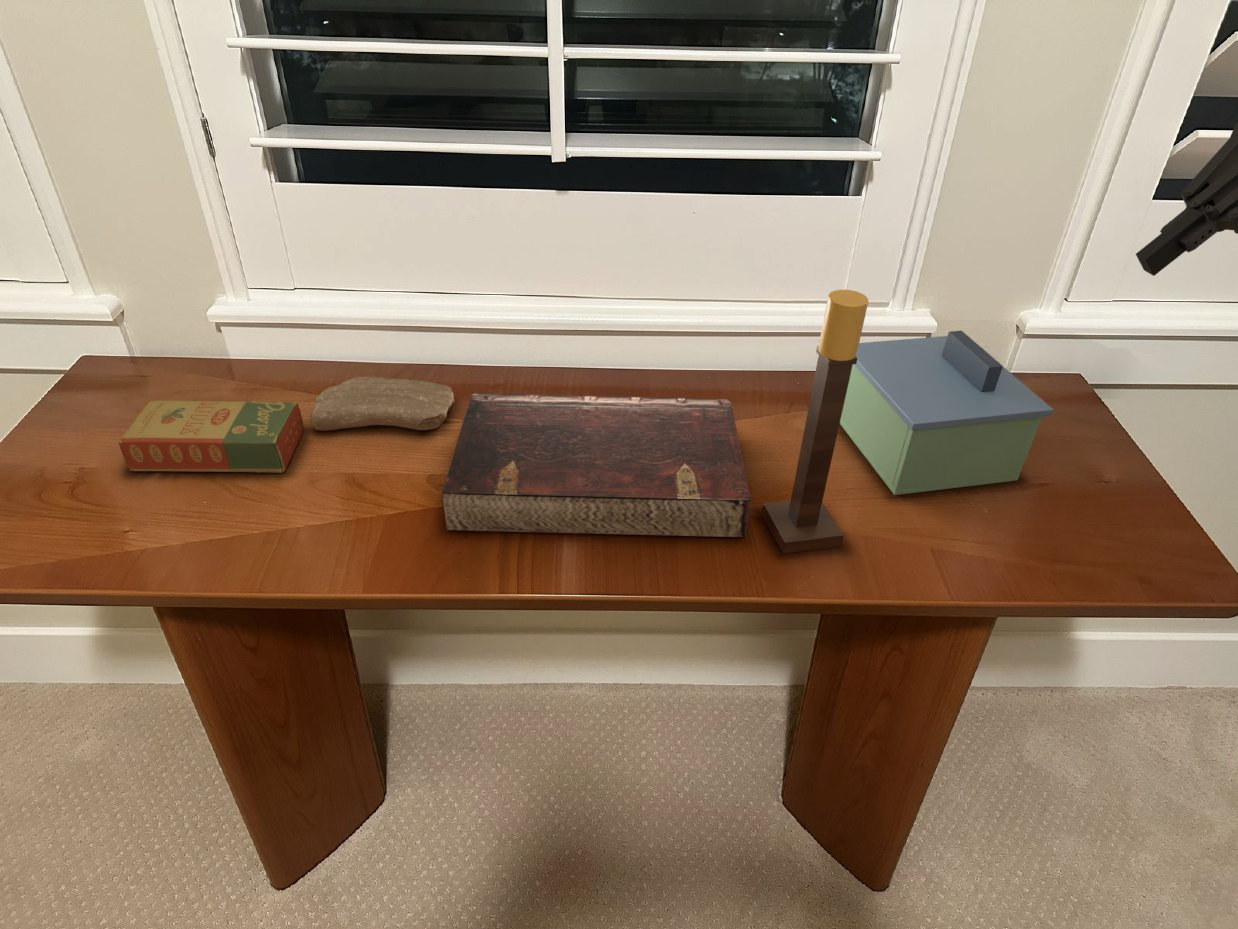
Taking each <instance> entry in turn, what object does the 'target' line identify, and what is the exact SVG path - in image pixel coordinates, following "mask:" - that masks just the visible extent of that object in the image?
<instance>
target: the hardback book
mask: <svg viewBox="0 0 1238 929" xmlns="http://www.w3.org/2000/svg"><path fill="white" fill-rule="evenodd" d="M738 434H739V433H738V430H737V424H736V419H735V414H734V410H733V405H732V400H731V399H723V398H720V399H719V398H690V397H689V398H686V397H649V396H646V397H645V396H641V397H640V396H613V395H612V396H609V395H608V396H607V395H575V394H573V395H571V394H570V395H569V394H536V393H535V394H533V393H531V394H530V393H498V392H497V393H496V392H495V393H494V392H493V393H491V392H471V394H470V398H469V400H468V404H467V408H466V411H465V414H464V417H463V421H462V425H461V427H460V431H459V434H458V438H457V441H456V444H455V447H454V451H453V453H452V454H453V455H452V458H451V461H450V464H449V467H448V471H447V475H446V478H445V482H444V485H443V488H442V491H441V495H442V504H443V511H444V519H445V525H446V526H445V528H446V531H470V532H471V531H475V532H476V531H477V532H515V533H517V532H518V533H552V534H553V533H558V534H561V533H562V534H597V535H599V534H601V535H637V536H638V535H640V536H641V535H642V536H675V537H676V536H677V537H678V536H681V537H683V536H684V537H721V538H723V537H724V538H725V537H726V538H746V536H747V529H748V523H749V516H750V510H751V503H752V498H751V493H750V487H749V483H748V478H747V474H746V469H745V464H744V458H743V454H742V448H741V443H740V440H739V435H738Z"/></svg>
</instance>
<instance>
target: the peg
mask: <svg viewBox="0 0 1238 929" xmlns="http://www.w3.org/2000/svg"><path fill="white" fill-rule="evenodd" d="M826 302H827V303H826V306H825V311H824V315H823V322H822V328H821V332H820V338H819V342H818V346H819V347H818V350H819V353H820V354H821V355H823V356H824V357H826V358H828V359H832V360H836V361H847V360H851V359H853V358H855V357H856V355H857V350H858V346H859V343H860V341H861V336H862V332H863V328H864V323H865V318H866V314H867V310H868V305H869V298H868V296H866V295H865V294H863V293H862V292H859V291H856V290H852V289H837V290H833V291H830V292H829V293H828V296H827V301H826Z"/></svg>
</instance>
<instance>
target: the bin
mask: <svg viewBox="0 0 1238 929" xmlns="http://www.w3.org/2000/svg"><path fill="white" fill-rule="evenodd" d="M1042 420H1043V417H1036V418H1026V419H1017V420H1007V421H998V422H988V423H979V424H969V425H959V426H950V427H940V428H931V429H921V430H911V429H910V428H909V427H908V425H907V424H906V423H905V422H904V421H903V420H902V419H901V417H900V416H899V415H898V414H897V413H896V412H895V411H894V409H893V408H892V407H891V406H890V405H889V404H888V403H887V402H886V400H885V399H884V398H883V397H882V396H881V395H880V394H879V392H878V391H877V390H876V389H875V388H874V387H873V386H872V385H871V383H870V382H869V381H868V380H867V379H866V378H865V377H864V375H863V374H862V373H861V372H860V371H859V370H858V369H857V367H856V366H855V365H854V364H853V366H852V370H851V375H850V379H849V384H848V388H847V393H846V397H845V402H844V406H843V411H842V415H841V420H840V424H839V426H841V427H842V429H843V430H844V431H845V432H846V434H847V435H848V437H849V438H850V439H851V440H852V442H853V443H854V444H855V446H856V447H857V448H858V450H859V451H860V452H861V454H862V455H863V456H864V457H865V458H866V460H867V461H868V463H869V464H870V465H871V467H872V468H873V469H874V471H875V472H876V473H877V474H878V475H879V477H880V479H881V480H882V481H883V482H884V483H885V485H886V486H887V487H888V489H889V490H890V492H891V493H892V494H893V495H894V496H899V495H907V494H915V493H924V492H933V491H940V490H941V491H942V490H950V489H956V488H957V489H958V488H965V487H974V486H982V485H992V484H998V483H1007V482H1014V481H1018V480H1019V478H1020V475H1021V472H1022V470H1023V467H1024V465H1025V462H1026V459H1027V457H1028V454H1029V452H1030V449H1031V447H1032V445H1033V442H1034V439H1035V437H1036V435H1037V432H1038V429H1039V426H1040V424H1041V421H1042Z"/></svg>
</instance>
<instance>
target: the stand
mask: <svg viewBox="0 0 1238 929" xmlns="http://www.w3.org/2000/svg"><path fill="white" fill-rule="evenodd" d="M818 347H819V345H818V346H816V350H815V353H816V354H817V355H818V357H817V361H816V366H815V371H814V372H815V373H814V377H813V383H812V387H811V393H810V399H809V402H808V403H809V404H808V409H807V413H806V420H805V424H804V428H803V429H804V430H803V434H802V440H801V445H800V449H799V454H798V455H799V456H798V460H797V466H796V470H795V476H794V481H793V486H792V491H791V496H790V499H789V500H781V501H771V502H763V504H762V509H761V516H762V519H763V520H764V522H765V524H766V526H767V527H768V529H769V532H770V533H771V535H772V537H773V539H774V540H775V543H776V544H777V546H778V548H779V550H780V552H781V554H782V555H786V554H793V553H794V554H795V553H800V552H801V553H803V552H809V551H818V550H823V549H825V550H826V549H831V548H838V547H839V548H840V547H842V542H843V540H844V533H843V532H842V531H841V529H840V527H839V526H838V524H837V523H836V521H835V519H834V517H832V515H831V513H830V512H829V511H828V509H827V507H826V506H825V504H824V502H823V501H824V496H825V492H826V487H827V483H828V477H829V473H830V468H831V464H832V459H833V455H834V450H835V446H836V442H837V438H838V433H839V429H840V420H841V415H842V411H843V406H844V402H845V397H846V393H847V388H848V384H849V379H850V375H851V370H852V366H853V364H856V363H857V357H855V358H853V359H851V360H847V361H836V360H832V359H828V358H826V357H824V356H823V355H821V354H820V353H819V350H818Z"/></svg>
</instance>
